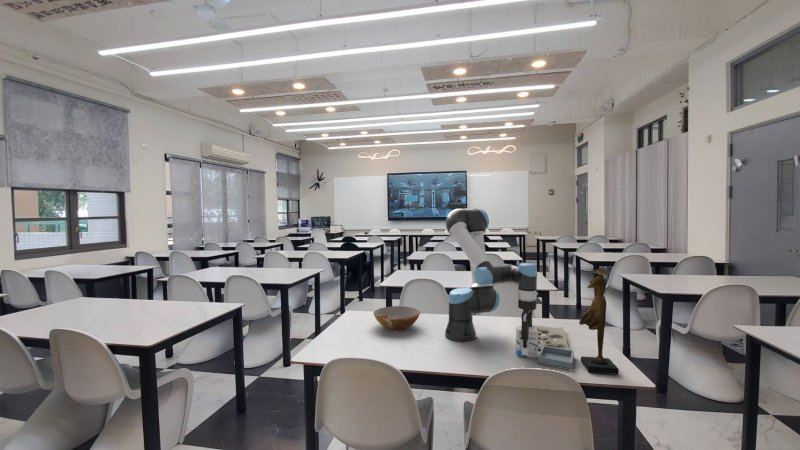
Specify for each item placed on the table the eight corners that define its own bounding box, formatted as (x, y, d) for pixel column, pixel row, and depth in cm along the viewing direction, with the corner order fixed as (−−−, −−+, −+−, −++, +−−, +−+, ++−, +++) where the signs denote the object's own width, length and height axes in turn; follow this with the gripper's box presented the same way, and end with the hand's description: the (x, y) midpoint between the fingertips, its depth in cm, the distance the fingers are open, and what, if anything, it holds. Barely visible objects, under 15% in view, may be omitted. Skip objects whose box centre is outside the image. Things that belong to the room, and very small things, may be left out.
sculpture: (583, 373, 142) (585, 270, 140) (575, 361, 153) (576, 266, 151) (619, 375, 140) (622, 271, 138) (608, 363, 151) (610, 266, 149)
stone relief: (522, 350, 167) (570, 355, 160) (521, 344, 166) (570, 348, 160) (523, 328, 197) (564, 331, 190) (523, 323, 197) (564, 326, 190)
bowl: (367, 333, 189) (367, 317, 188) (380, 318, 213) (380, 305, 213) (415, 336, 183) (415, 321, 183) (423, 321, 208) (423, 307, 207)
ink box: (517, 356, 158) (517, 329, 158) (515, 352, 163) (515, 326, 163) (538, 357, 157) (538, 330, 156) (535, 353, 162) (536, 327, 161)
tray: (538, 363, 151) (538, 356, 151) (542, 352, 163) (542, 345, 163) (571, 370, 145) (572, 362, 145) (573, 357, 157) (573, 350, 157)
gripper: (533, 305, 148) (532, 361, 149) (539, 295, 166) (538, 345, 167) (513, 303, 152) (513, 358, 153) (522, 293, 170) (521, 342, 171)
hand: (526, 351), depth 160 cm, fingers open, 7 cm apart
